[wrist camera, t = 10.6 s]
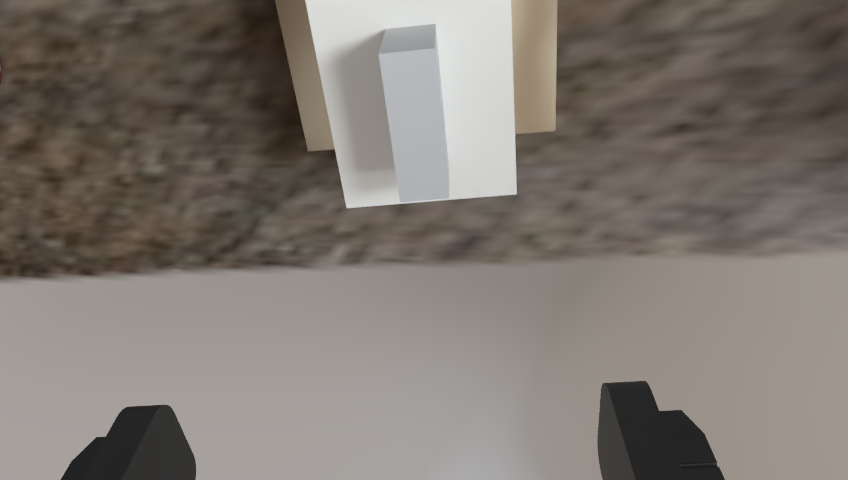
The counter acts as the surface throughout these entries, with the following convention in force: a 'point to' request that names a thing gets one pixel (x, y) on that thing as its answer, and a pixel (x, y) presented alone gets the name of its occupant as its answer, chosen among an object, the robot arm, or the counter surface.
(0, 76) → the supplement bottle
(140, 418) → the robot arm
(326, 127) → the wall board
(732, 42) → the counter surface
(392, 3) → the notched white block
